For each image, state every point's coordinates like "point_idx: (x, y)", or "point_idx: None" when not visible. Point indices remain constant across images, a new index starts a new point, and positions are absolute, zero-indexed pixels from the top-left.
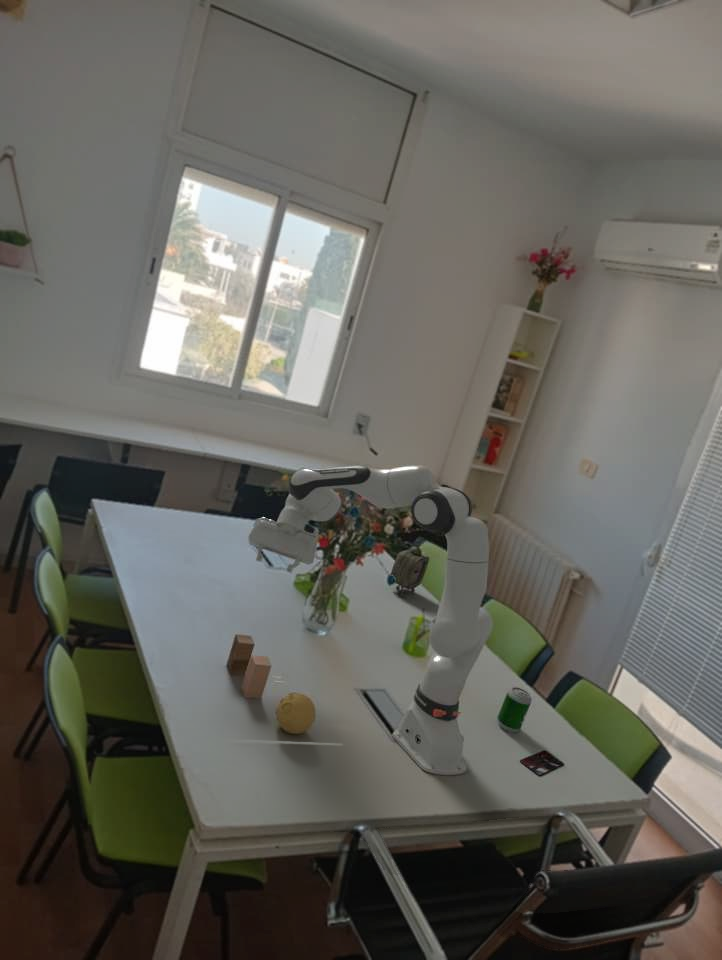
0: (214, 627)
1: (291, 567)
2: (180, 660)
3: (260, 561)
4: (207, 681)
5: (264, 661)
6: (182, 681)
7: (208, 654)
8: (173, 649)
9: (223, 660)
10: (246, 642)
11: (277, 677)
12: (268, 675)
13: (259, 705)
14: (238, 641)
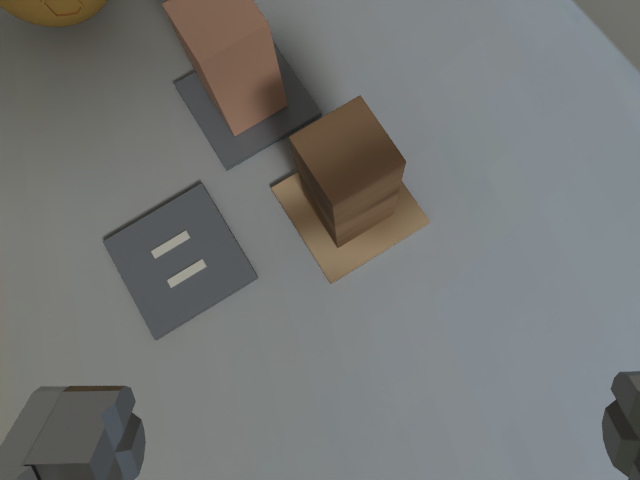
0: None
1: (42, 420)
2: (555, 142)
3: (611, 403)
4: (409, 79)
5: (199, 14)
6: (480, 24)
7: (491, 261)
8: (620, 198)
9: (420, 259)
10: (329, 122)
11: (184, 271)
12: (177, 34)
13: None
14: (366, 104)
